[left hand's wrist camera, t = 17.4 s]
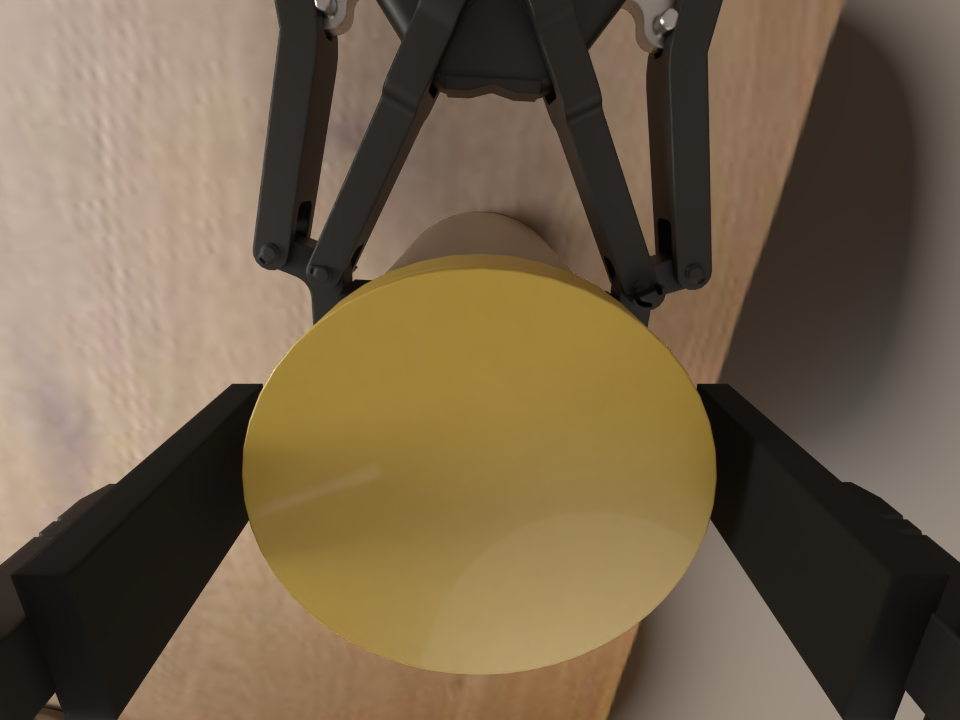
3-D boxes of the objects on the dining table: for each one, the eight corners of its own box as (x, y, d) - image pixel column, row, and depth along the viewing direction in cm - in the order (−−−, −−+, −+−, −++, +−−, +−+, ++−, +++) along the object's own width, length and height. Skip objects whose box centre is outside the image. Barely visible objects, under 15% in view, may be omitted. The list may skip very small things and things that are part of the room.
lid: (772, 392, 11) (820, 428, 10) (541, 665, 14) (548, 727, 13) (390, 159, 10) (372, 157, 8) (212, 520, 13) (174, 570, 11)
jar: (473, 408, 29) (465, 689, 13) (359, 293, 27) (187, 467, 11) (599, 306, 27) (764, 495, 11) (487, 172, 25) (500, 175, 9)
